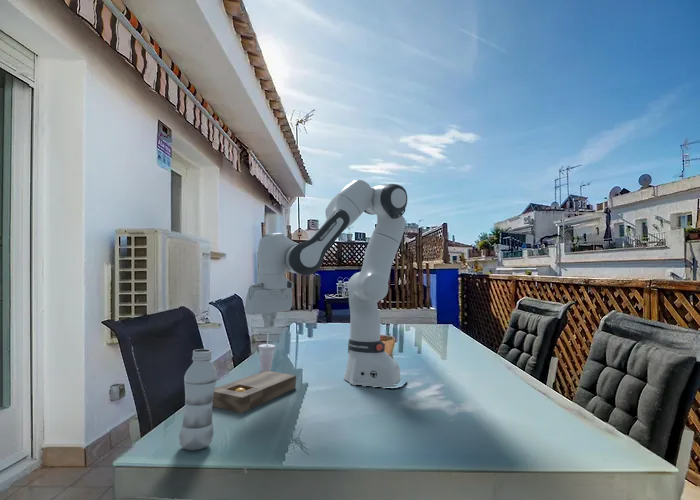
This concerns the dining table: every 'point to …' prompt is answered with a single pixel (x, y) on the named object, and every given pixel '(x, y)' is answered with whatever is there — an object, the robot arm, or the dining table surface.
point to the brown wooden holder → (252, 391)
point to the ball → (240, 389)
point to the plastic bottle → (198, 402)
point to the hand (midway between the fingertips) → (269, 326)
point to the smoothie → (266, 355)
